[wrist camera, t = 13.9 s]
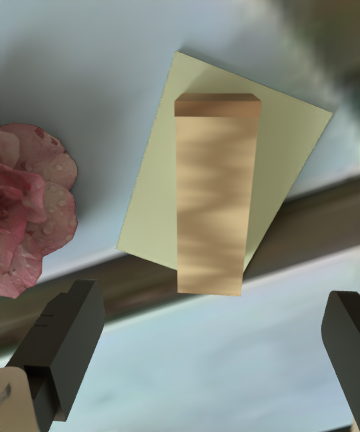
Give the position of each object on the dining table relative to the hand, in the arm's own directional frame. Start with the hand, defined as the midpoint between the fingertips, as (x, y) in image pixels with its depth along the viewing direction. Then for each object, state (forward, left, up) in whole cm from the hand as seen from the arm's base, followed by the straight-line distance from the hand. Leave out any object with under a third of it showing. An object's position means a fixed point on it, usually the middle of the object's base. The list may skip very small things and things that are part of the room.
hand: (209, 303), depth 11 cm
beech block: (+3, -7, -11) cm, 13 cm away
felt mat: (0, -1, -14) cm, 14 cm away
